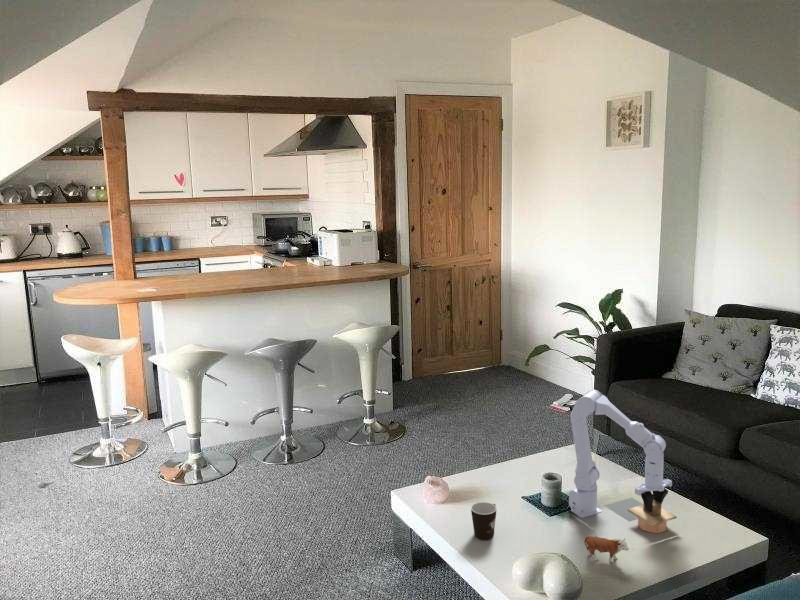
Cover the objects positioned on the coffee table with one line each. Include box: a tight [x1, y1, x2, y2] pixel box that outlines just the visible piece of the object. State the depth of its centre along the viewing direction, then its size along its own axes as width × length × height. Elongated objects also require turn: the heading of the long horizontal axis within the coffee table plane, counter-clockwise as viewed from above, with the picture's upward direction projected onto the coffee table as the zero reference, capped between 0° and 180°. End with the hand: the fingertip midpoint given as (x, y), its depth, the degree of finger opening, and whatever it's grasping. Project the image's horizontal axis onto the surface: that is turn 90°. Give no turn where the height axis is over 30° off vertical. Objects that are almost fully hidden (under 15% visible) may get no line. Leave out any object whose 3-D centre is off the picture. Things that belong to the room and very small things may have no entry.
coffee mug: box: [470, 501, 498, 541], centre depth 228 cm, size 12×9×10 cm
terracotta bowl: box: [637, 518, 668, 534], centre depth 229 cm, size 9×9×4 cm
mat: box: [603, 497, 644, 522], centre depth 242 cm, size 13×13×1 cm
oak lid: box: [628, 500, 678, 526], centre depth 229 cm, size 11×11×5 cm
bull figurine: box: [583, 535, 630, 564], centre depth 211 cm, size 4×13×8 cm, turn 66°
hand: (652, 509), depth 228 cm, fingers open, 3 cm apart
